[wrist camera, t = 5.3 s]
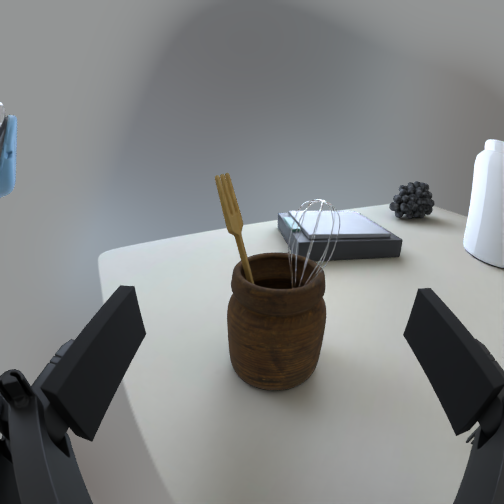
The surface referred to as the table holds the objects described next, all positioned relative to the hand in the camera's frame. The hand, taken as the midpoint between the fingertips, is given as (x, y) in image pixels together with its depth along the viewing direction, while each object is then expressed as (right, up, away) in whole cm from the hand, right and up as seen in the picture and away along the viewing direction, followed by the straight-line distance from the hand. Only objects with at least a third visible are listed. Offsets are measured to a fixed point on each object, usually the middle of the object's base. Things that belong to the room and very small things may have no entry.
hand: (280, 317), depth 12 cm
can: (+41, +2, +22) cm, 47 cm away
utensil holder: (0, -5, +6) cm, 8 cm away
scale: (+11, +5, +28) cm, 31 cm away
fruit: (+35, +11, +44) cm, 57 cm away
